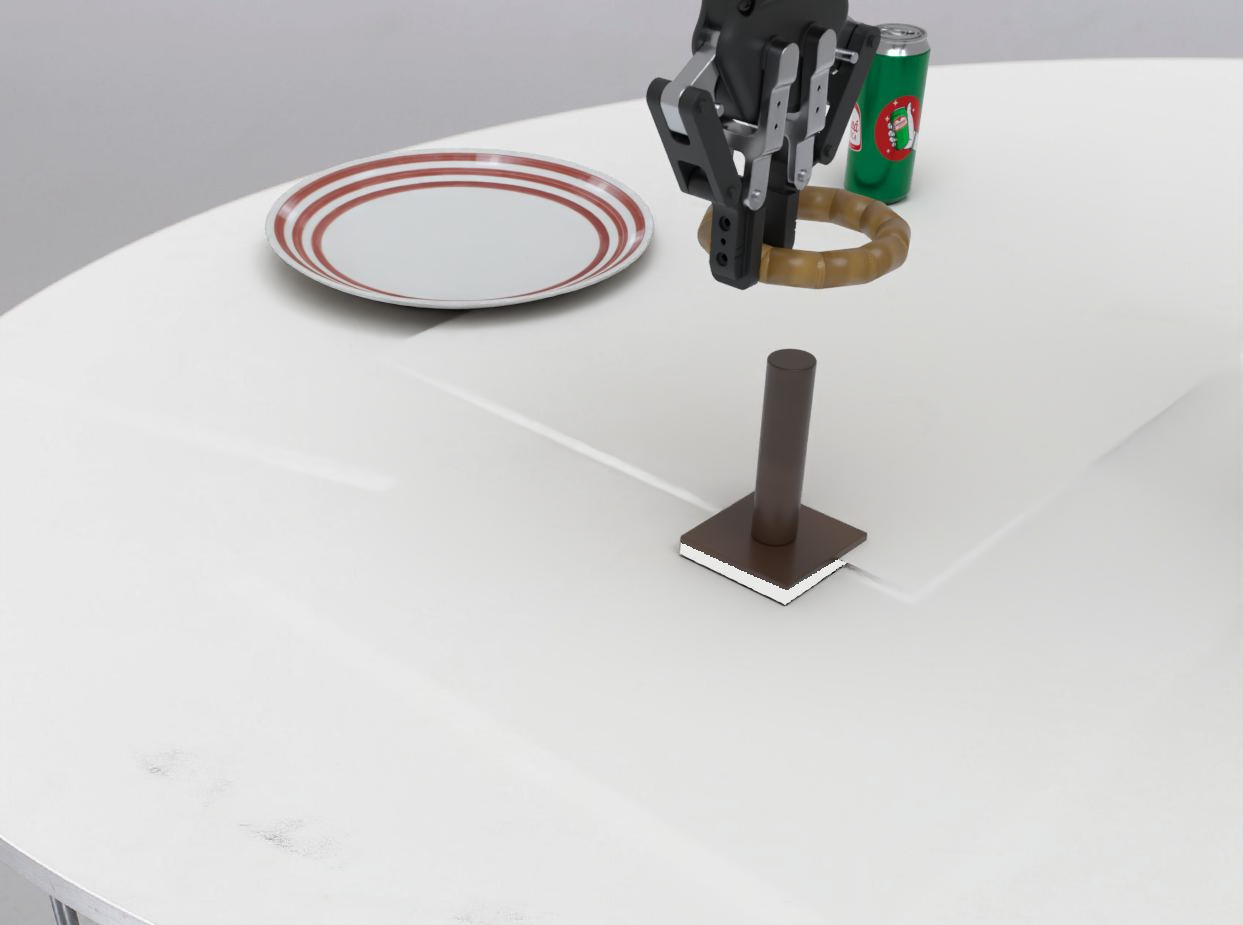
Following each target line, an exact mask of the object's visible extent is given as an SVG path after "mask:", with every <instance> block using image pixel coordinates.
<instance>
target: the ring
mask: <svg viewBox="0 0 1243 925" xmlns="http://www.w3.org/2000/svg"><path fill="white" fill-rule="evenodd" d="M712 212H713V208H712V203H711V204H709V206H708V207H707V209H706V210H705V213H704V215H703V216H702V219H701V222H700V223H699V226H698V229H697V233H696V235H697V242H698V244H699V245H700V247H701V248H702V249H703V250H704V251H705V252H706V253H707V254H708V256H709V255H710V251H711V249H710V242H711V226H712ZM796 221H806V222H818V223H827V224H828V223H829V224H834V225H837V226H839V227H841V228H845V229H849V230H851V231H854V232H857V233H860V234H863V235H865V237H867V238H868V239H869V240H870V241H869V242H867V243H864V244H862V245H861V246H858V247H851V248H850V247H849V248H842V249H832V250H823V251H815V250H805V249H795V248H793V249H787V248H777V247H772V246H769V245H766V244H764V243H762V255H761V266H760V271H759V276H760V277H759V281H758V283H761V284H763V285H764V284H765V285H771V286H780V287H788V288H789V287H791V288H799V289H808V290H825V289H834V288H835V289H836V288H841V287H842V288H843V287H850V286H851V287H852V286H860V285H866V284H869V283H872V282H873V281H875V280H878V279H879V278H881V277H884V276H886V275H888V274H890V273H892V272H893V271H895V270H897V269H899V268H900V267H902V266H903V265H904V264H905V262H906V261H907V259H908V256H909V249H910V245H911V244H910V243H911V238H912V230H911V227H910V225H909V223H908V221H906V220H905V219H904V218H903V217H902V216H900V215H899V214H898V213H897V212H895V211H894V210H893V209H892V208H891V207H889V205H888V204H884V203H883V202H881V201H878V200H875V199H872V198H869V197H865V196H862V195H859V194H856V193H853V192H850V191H846V190H845V189H844V188H838V187H829V186H828V187H827V186H817V185H809V184H807V186H806V187H805V188H804V189H802V190H800V193H799V202H798V212H797V220H796Z"/></svg>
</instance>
